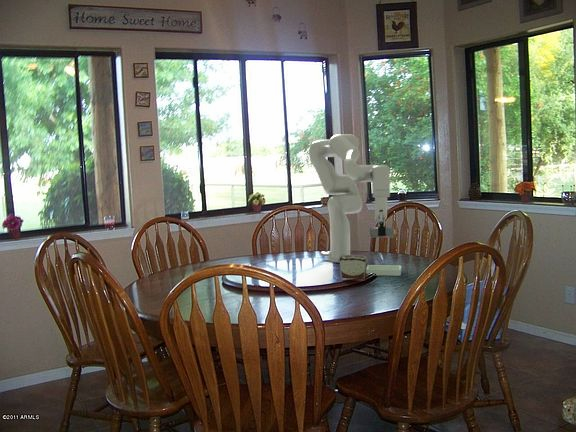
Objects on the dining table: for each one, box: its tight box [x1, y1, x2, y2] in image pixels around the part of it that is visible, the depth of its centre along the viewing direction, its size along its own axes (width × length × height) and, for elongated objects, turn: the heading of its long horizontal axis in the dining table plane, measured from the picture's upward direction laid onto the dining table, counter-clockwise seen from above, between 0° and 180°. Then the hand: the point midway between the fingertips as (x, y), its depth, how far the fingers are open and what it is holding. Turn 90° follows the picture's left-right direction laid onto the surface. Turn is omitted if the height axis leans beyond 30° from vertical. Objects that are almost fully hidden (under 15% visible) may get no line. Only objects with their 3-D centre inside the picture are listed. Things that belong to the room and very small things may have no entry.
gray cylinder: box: [369, 226, 396, 238], centre depth 283 cm, size 11×4×4 cm, turn 80°
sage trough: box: [365, 264, 402, 277], centre depth 279 cm, size 15×9×3 cm, turn 79°
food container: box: [338, 254, 369, 279], centre depth 268 cm, size 12×6×10 cm, turn 71°
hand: (382, 234), depth 283 cm, fingers closed on gray cylinder, 4 cm apart
